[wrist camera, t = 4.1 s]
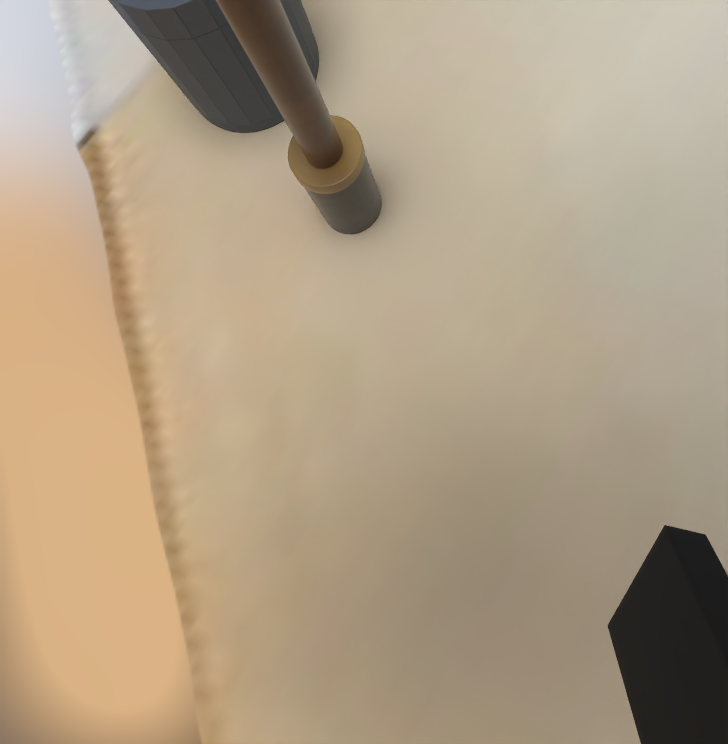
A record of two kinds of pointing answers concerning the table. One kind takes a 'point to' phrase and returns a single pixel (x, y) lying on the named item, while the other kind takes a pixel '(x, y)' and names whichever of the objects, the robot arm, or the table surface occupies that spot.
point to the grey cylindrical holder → (213, 57)
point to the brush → (307, 118)
